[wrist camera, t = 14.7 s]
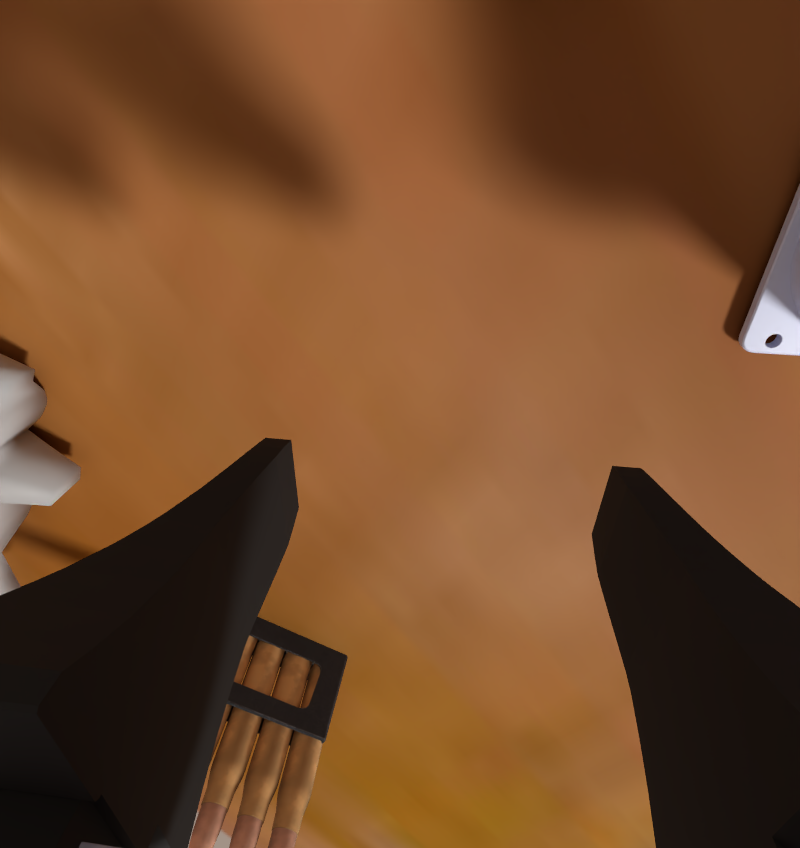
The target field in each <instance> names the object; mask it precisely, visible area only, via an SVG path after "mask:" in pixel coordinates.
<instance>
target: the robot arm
mask: <svg viewBox="0 0 800 848" xmlns="http://www.w3.org/2000/svg"><path fill="white" fill-rule="evenodd" d="M773 334H777V337H776V338H775V339H774V341H772V342H770V343H765V342H766V339H767V338H768V337H769V336H771V335H773ZM738 341H739V344H740V345H741V346H742V347H743V348H744V349H745V350H746V351H748V352H752V353H766V354H782V355H798V356H800V184H799V186H798V189H797V191H796V194H795V197H794V199H793V202H792V204H791V207H790V209H789V212H788V214H787V217H786V219H785V222H784V224H783V227H782V229H781V232H780V234H779V237H778V239H777V242H776V244H775V247H774V249H773V252H772V254H771V257H770V259H769V262H768V264H767V267H766V269H765V272H764V274H763V277H762V279H761V282H760V284H759V287H758V289H757V292H756V294H755V297H754V300H753V302H752V305H751V307H750V310H749V312H748V315H747V317H746V320H745V322H744V325H743V327H742V330H741V332H740V335H739V340H738ZM298 508H299V505H298V496H297V488H296V479H295V470H294V461H293V453H292V444H291V440H284V439H272V438H265V439H263V440H262V441H261V442H259V443H258V444H257V445H256V446H254V447H253V448H252V449H250V450H249V451H248V452H247V453H245V454H244V455H243V456H242V457H240V458H239V459H238V460H237V461H235V462H234V463H233V464H232V465H230V466H229V467H228V468H227V469H225V470H224V471H223V472H221V473H220V474H219V475H217V476H216V477H215V478H214V479H212V480H211V481H210V482H208V483H207V484H206V485H204V486H203V487H202V488H200V489H199V490H197V491H196V492H195V493H193V494H192V495H190V496H189V497H187V498H186V499H185V500H183V501H182V502H180V503H179V504H177V505H176V506H175V507H173V508H172V509H170V510H169V511H167V512H166V513H164V514H163V515H161V516H160V517H158V518H157V519H155V520H153V521H152V522H150V523H149V524H147V525H145V526H144V527H142V528H140V529H138V530H137V531H135V532H133V533H132V534H130V535H128V536H126V537H125V538H123V539H121V540H119V541H117V542H116V543H114V544H112V545H110V546H108V547H106V548H104V549H102V550H100V551H98V552H96V553H94V554H92V555H90V556H88V557H86V558H84V559H82V560H80V561H78V562H76V563H74V564H72V565H70V566H68V567H66V568H64V569H61V570H59V571H57V572H55V573H52V574H50V575H48V576H46V577H43V578H41V579H39V580H36V581H34V582H32V583H29V584H27V585H24V586H22V587H19V588H17V589H14V590H12V591H10V592H7V593H4V594H2V595H0V848H188V844H189V840H190V836H191V832H192V828H193V824H194V820H195V817H196V813H197V809H198V805H199V801H200V797H201V793H202V789H203V785H204V782H205V778H206V774H207V771H208V767H209V764H210V760H211V756H212V753H213V749H214V746H215V742H216V738H217V735H218V731H219V728H220V725H221V721H222V718H223V715H224V711H225V708H226V705H227V701H228V698H229V695H230V691H231V688H232V685H233V682H234V679H235V676H236V672H237V669H238V666H239V663H240V660H241V657H242V654H243V651H244V648H245V645H246V642H247V640H248V637H249V635H250V632H251V630H252V627H253V625H254V623H255V620H256V618H257V616H258V613H259V611H260V609H261V607H262V604H263V602H264V600H265V597H266V595H267V593H268V591H269V588H270V586H271V584H272V581H273V579H274V577H275V575H276V572H277V570H278V568H279V565H280V563H281V561H282V558H283V556H284V554H285V551H286V549H287V546H288V543H289V540H290V537H291V533H292V530H293V527H294V523H295V519H296V516H297V512H298ZM592 539H593V546H594V554H595V560H596V567H597V573H598V577H599V581H600V585H601V588H602V592H603V595H604V599H605V602H606V606H607V609H608V613H609V616H610V619H611V623H612V626H613V630H614V633H615V636H616V640H617V643H618V646H619V650H620V653H621V657H622V660H623V663H624V667H625V670H626V674H627V678H628V682H629V686H630V690H631V695H632V700H633V706H634V711H635V716H636V722H637V727H638V733H639V738H640V744H641V750H642V756H643V762H644V768H645V775H646V781H647V787H648V793H649V800H650V807H651V814H652V822H653V829H654V836H655V843H656V848H800V608H799V607H798V606H797V605H795V604H794V603H793V602H791V601H790V600H788V599H787V598H786V597H784V596H783V595H782V594H780V593H779V592H778V591H776V590H775V589H774V588H772V587H771V586H770V585H769V584H767V583H766V582H765V581H763V580H762V579H761V578H760V577H758V576H757V575H756V574H755V573H754V572H752V571H751V570H750V569H749V568H748V567H746V566H745V565H744V564H743V563H742V562H741V561H739V560H738V559H737V558H736V557H735V556H734V555H732V554H731V553H730V552H729V551H728V550H727V549H725V548H724V547H723V546H722V545H721V544H720V543H719V542H718V541H716V540H715V539H714V538H713V537H712V536H711V535H710V534H709V533H708V532H707V531H706V530H705V529H703V528H702V527H701V526H700V525H699V524H698V523H697V522H696V521H695V520H694V519H693V518H692V517H691V516H690V515H689V514H688V513H687V512H686V511H685V510H684V509H683V508H682V507H681V506H680V505H679V504H678V503H677V502H675V501H674V500H673V499H672V498H671V497H670V496H669V495H668V494H667V493H666V492H665V491H664V490H663V489H662V488H661V487H660V486H659V485H658V484H657V483H656V482H655V481H654V480H653V479H652V478H651V477H650V476H649V475H648V474H647V473H646V472H645V471H644V470H642V469H641V468H631V467H618V466H612V469H611V472H610V475H609V479H608V482H607V485H606V489H605V492H604V495H603V499H602V502H601V505H600V509H599V512H598V515H597V519H596V522H595V525H594V529H593V532H592Z"/></svg>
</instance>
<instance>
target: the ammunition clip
mask: <svg viewBox="0 0 800 848" xmlns="http://www.w3.org/2000/svg"><path fill="white" fill-rule="evenodd" d="M252 655H253V656H252ZM251 656H252V659H251ZM250 659H251V662H250ZM346 661H347V655H345V654H342V653H340V652H338V651H335V650H333V649H331V648H328V647H326V646H324V645H321V644H319V643H317V642H314V641H312V640H310V639H308V638H305V637H303V636H301V635H298V634H296V633H294V632H291V631H289V630H287V629H284V628H282V627H280V626H277V625H275V624H273V623H271V622H268V621H266V620H264V619H261V618H259V617H257V618H256V620H255V623H254V625H253V627H252V630H251V632H250V635H249V637H248V640H247V642H246V645H245V648H244V651H243V654H242V657H241V660H240V663H239V666H238V669H237V672H236V676H235V679H234V682H233V685H232V688H231V691H230V695H229V698H228V701H227V705H226V708H225V711H224V715H223V718H222V721H221V725H220V728H219V731H218V735H217V738H216V742H215V746H214V749H213V753H212V756H211V760H212V757H213V754H214V752H215V749H216V747H217V744H218V741H219V739H220V736H221V734H222V731H223V729H224V726H225V723H226V721H228V723H227V726H226V729H225V731H224V734H223V737H222V739H221V742H220V745H219V748H218V750H217V753H216V756H215V758H214V761H213V764H212V767H211V771H210V775H209V780H208V785H207V789H206V792H205V795H204V798H203V801H202V804H201V809H200V812H199V814H198V817H197V820H196V823H195V826H194V829H193V833H192V836H191V840H190V844H189V848H213V846H214V844H215V842H216V839H217V837H218V835H219V832H220V830H221V827H222V824H223V821H224V818H225V815H226V813H227V811H228V809H229V806H230V804H231V801H232V798H233V796H234V793H235V791H236V789H237V787H238V786H239V784H240V782H241V780H242V777H243V775H244V772H245V770H246V767H247V764H248V761H249V758H250V754H251V751H252V748H253V745H254V742H255V739H256V736H257V733H259V738H258V741H257V744H256V747H255V750H254V753H253V756H252V760H251V763H250V766H249V769H248V772H247V775H246V779H245V783H244V789H243V796H242V801H241V805H240V809H239V812H238V816H237V822H236V825H235V828H234V831H233V835H232V838H231V842H230V847H229V848H255V847H256V844H257V841H258V837H259V834H260V830H261V827H262V825H263V823H264V819H265V816H266V813H267V810H268V807H269V804H270V802H271V800H272V798H273V795H274V793H275V791H276V789H277V786H278V783H279V779H280V775H281V772H282V768H283V765H284V761H285V758H286V754H287V750H288V747H289V745H290V749H289V753H288V757H287V760H286V764H285V768H284V772H283V775H282V779H281V783H280V787H279V791H278V797H277V806H276V814H275V818H274V823H273V827H272V834H271V838H270V842H269V846H268V848H294V846H295V842H296V838H297V836H298V833H299V829H300V825H301V822H302V818H303V815H304V813H305V810H306V808H307V805H308V803H309V800H310V796H311V792H312V788H313V783H314V779H315V775H316V770H317V766H318V762H319V757H320V753H321V748H322V744H323V743H324V742H325V740H326V736H327V732H328V729H329V725H330V721H331V717H332V714H333V710H334V706H335V703H336V699H337V695H338V691H339V688H340V684H341V680H342V676H343V673H344V669H345V665H346ZM249 662H250V664H249ZM248 664H249V667H248ZM247 667H248V670H247V672H246V669H247ZM279 667H281V668H280V671H279V675H278V678H277V681H276V684H275V687H274V690H273V693H272V697H271V696H270V694H271V691H272V688H273V685H274V682H275V679H276V676H277V673H278V670H279ZM245 672H246V675H245V678H244V680H243V677H244V674H245ZM242 680H243V683H242V685H241V682H242ZM307 680H308V681H307ZM306 682H307V685H306ZM305 686H306V689H305ZM304 689H305V693H304ZM303 693H304V696H303ZM302 697H303V700H302ZM301 700H302V704H301ZM300 704H301V708H299V707H300ZM211 760H210V762H211Z"/></svg>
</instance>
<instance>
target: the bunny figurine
mask: <svg viewBox="0 0 800 848" xmlns="http://www.w3.org/2000/svg"><path fill="white" fill-rule="evenodd" d="M34 372H35V369H33V368H31V367H29V366H26V365H24V364H22V363H20V362H18V361H16V360H13V359H11V358H9V357H7V356H5V355H2V354H0V595H2V594H4V593H7V592H10V591H12V590H14V589H17V588H19V587H21V586H20V584H19V583H18V581H17V579H16V577H15V575H14V574H13V572H12V570H11V568H10V566H9V565H8V563H7V561H6V559H5V557H4V556H3V554H2V551H3V550H4V548H5V547H6V545H7V544H8V542H9V541H10V539H11V538H12V536H13V535H14V534H15V532H16V531H17V529H18V528H19V526H20V525H21V523H22V522H23V520H24V519H25V518H26V516H27V515H28V513H29V510H30V508H31V506H32V505H46V506H51V505H52V504H53V503H54V502H56V501H57V500H58V499H59V498H60V497H61V496H62V495H63V494H64V493H65V492H66V491H68V490H69V489H70V488H71V487H72V486H73V485H74V484H75V483H76V482H77V481H78V480H80V469H81V467H79V466H78V465H77V464H75V463H74V462H72V461H71V460H69V459H68V458H67V457H65V456H64V455H62V454H61V453H60V452H58V451H57V450H55V449H54V448H53V447H51V446H50V445H48V444H47V443H45V442H44V441H43V440H41V439H40V438H39V437H37V436H36V435H35V434H33V433H32V432H31V431H29V430H28V429H29V428H30V427H31V426H32V425H33V424H34V423H35V422H36V421H37V420H38V419H39V418H40V417H41V416H42V414H43V412H44V409H45V407H46V405H47V397H46V393H45V390H43V389H42V388H41V387H40V386H38V385H37V384H36V383H35V382H33V378H34Z"/></svg>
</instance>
